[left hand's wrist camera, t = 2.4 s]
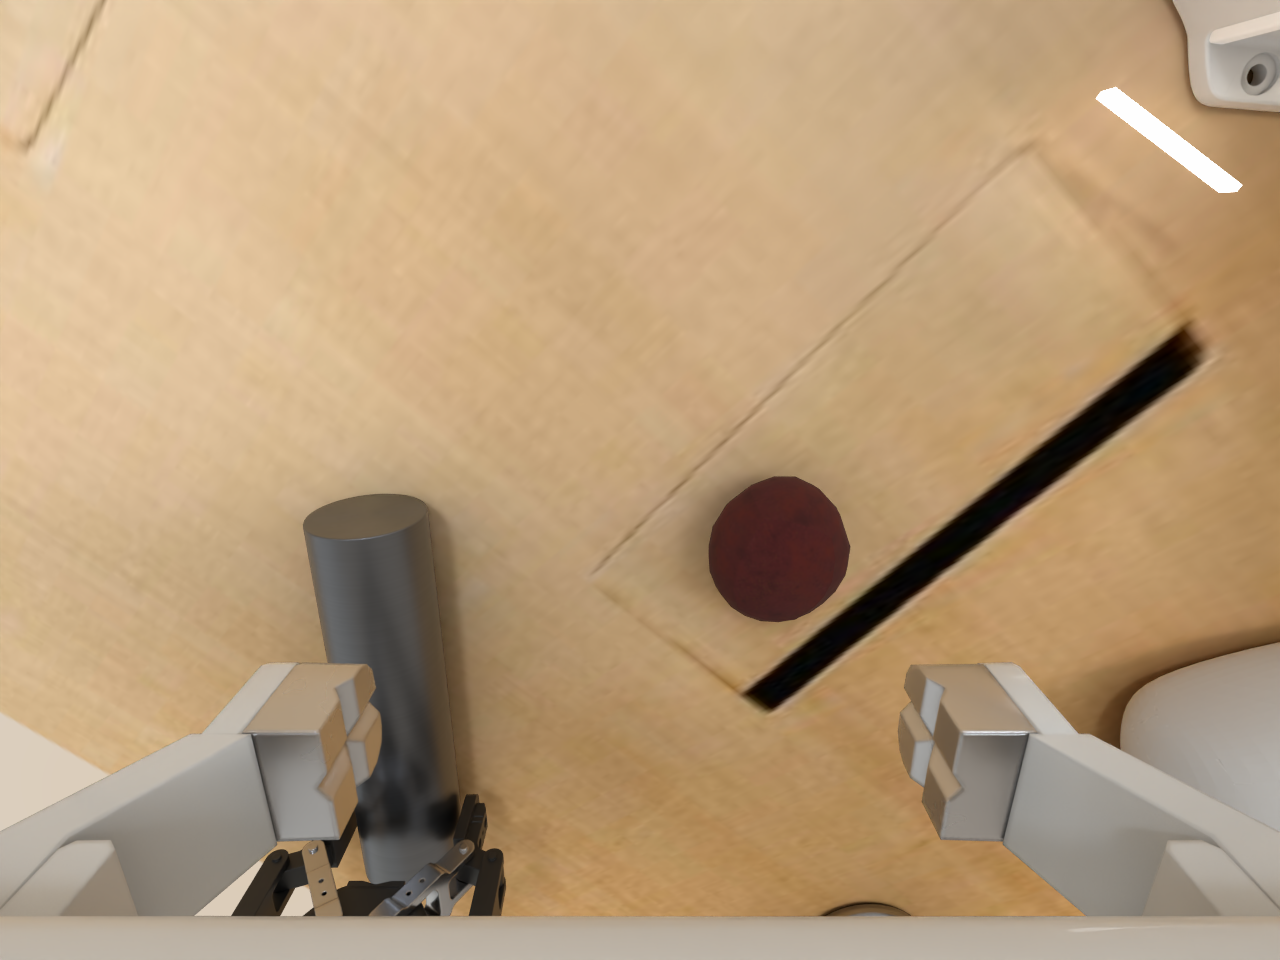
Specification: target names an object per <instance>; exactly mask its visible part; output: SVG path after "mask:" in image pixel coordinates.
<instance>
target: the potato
mask: <svg viewBox="0 0 1280 960" xmlns="http://www.w3.org/2000/svg"><path fill="white" fill-rule="evenodd" d="M849 552H850V544H849V541H848V538H847V535H846V532H845V529H844V526H843V523H842V520H841V516H840V514H839V512H838V510H837V508H836V507H835V506H834V504H833V503H832V502H831V501H830V500H829V499H828V498H827V497H826V496H825V495H824V494H823V493H822V492H821V490H820V489H818V488H817V487H815V486H814V485H812V484H810V483H807V482H805V481H803V480H801V479H799V478H797V477H772V478H769V479H766V480H764V481H761V482H758V483H756V484H753V485H751V486H750V487H748V488H747V489H746V490H744V491H743V492H742V493H740V494H739V495H738V496H736V497H735V498H734V499H733V500H731V501H730V502H729V503H728V504H727V505H726V506H725V508H724V510H723V511H722V513H721V514H720V516H719V518H718V519H717V521H716V522H715V524H714V526H713V528H712V533H711V538H710V543H709V567H710V573H711V575H712V578H713V580H714V583H715V585H716V587H717V589H718V590H719V592H720V593H721V595H722V596H723V597H724V599H725V600H726V601H727V602H728V603H729V605H730V606H731V607H732V608H734V609H735V610H737V611H738V612H740V613H742V614H743V615H745V616H747V617H750V618H753V619H756V620H759V621H769V622H782V621H787V620H795V619H797V618H798V617H801V616H803V615H805V614H808V613H810V612H811V611H813V610H814V609H816V608H817V607H818V606H820V605H821V604H823V603H824V602H825V601H826V600H827V599H828V598H829V597H830V596H831V595H832V594H833V593H834V592H835V591H836V589H837V588H838V586H839V585H840V583H841V581H842V580H843V578H844V577H845V574H846V570H847V566H848V559H849Z"/></svg>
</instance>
